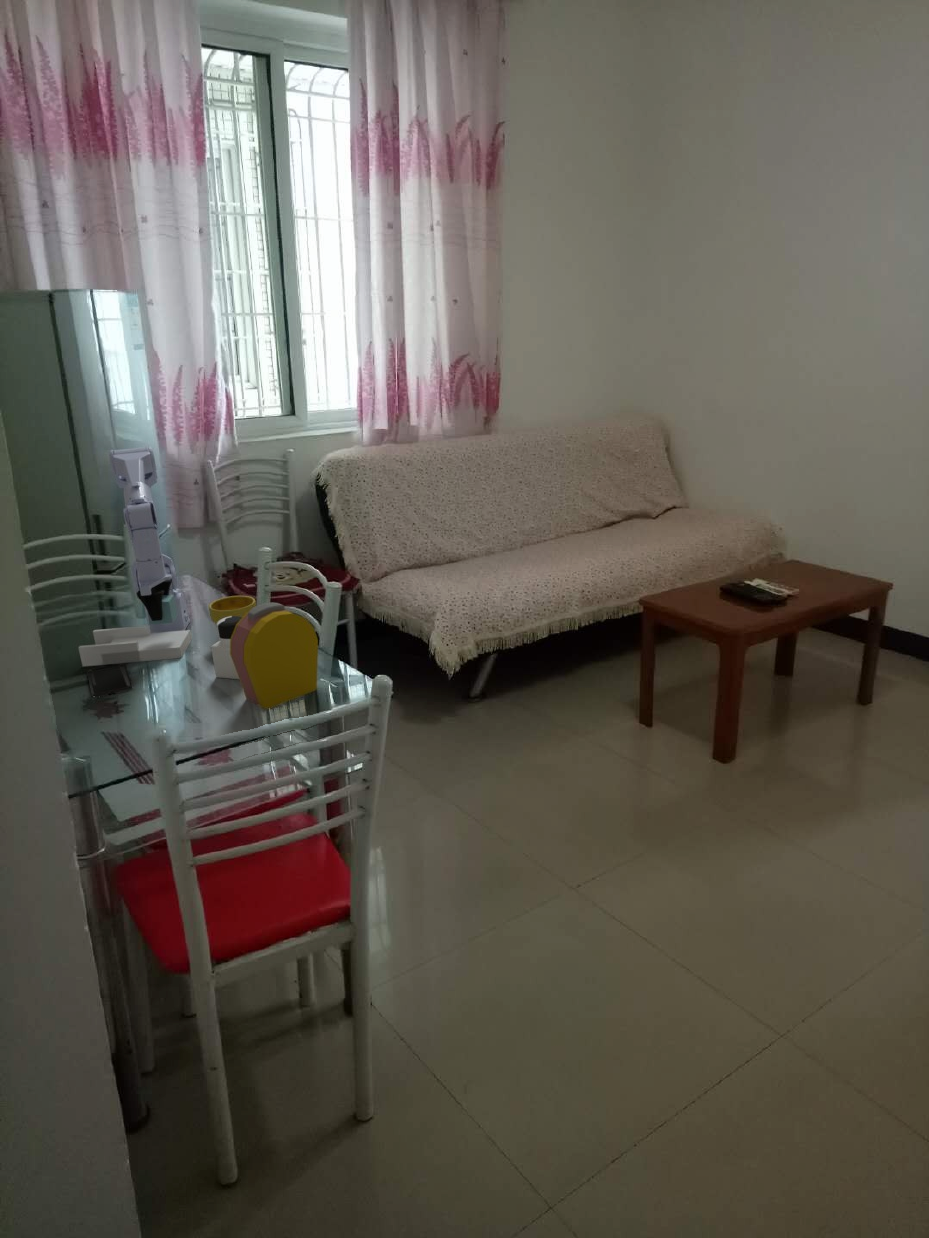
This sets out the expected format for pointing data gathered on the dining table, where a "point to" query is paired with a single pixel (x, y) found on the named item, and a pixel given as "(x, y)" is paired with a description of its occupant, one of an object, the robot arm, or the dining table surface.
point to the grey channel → (133, 646)
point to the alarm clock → (274, 655)
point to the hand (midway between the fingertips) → (160, 615)
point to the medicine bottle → (224, 648)
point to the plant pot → (230, 607)
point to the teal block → (167, 610)
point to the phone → (109, 680)
